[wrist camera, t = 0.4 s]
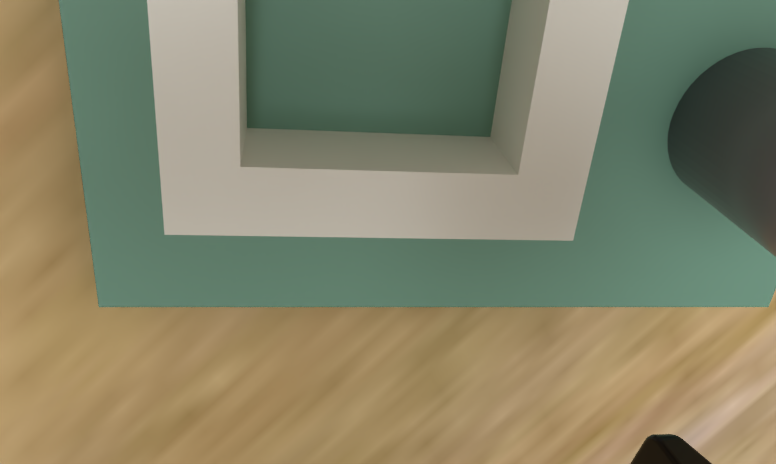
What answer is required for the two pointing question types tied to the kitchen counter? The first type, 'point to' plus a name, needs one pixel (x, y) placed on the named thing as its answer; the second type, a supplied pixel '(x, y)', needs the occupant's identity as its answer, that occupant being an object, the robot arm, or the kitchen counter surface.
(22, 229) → the kitchen counter surface
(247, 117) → the board
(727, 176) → the dome-topped cylinder
